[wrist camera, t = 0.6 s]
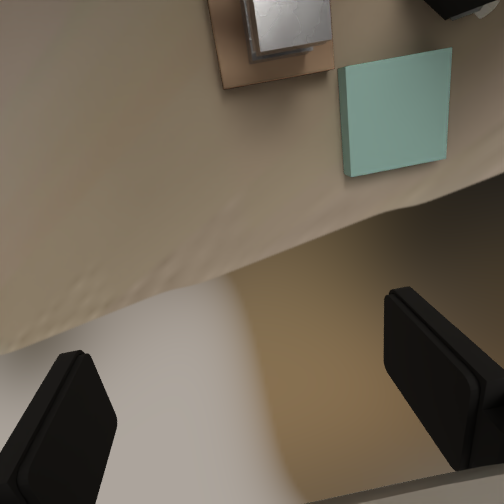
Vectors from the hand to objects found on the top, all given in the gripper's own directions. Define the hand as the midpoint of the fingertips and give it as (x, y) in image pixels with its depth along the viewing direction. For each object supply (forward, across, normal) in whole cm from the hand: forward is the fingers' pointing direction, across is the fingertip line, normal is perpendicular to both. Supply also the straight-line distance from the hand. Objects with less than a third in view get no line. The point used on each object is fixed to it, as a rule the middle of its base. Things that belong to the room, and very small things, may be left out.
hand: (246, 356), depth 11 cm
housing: (+25, -7, -14) cm, 29 cm away
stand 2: (+27, -18, -4) cm, 32 cm away
